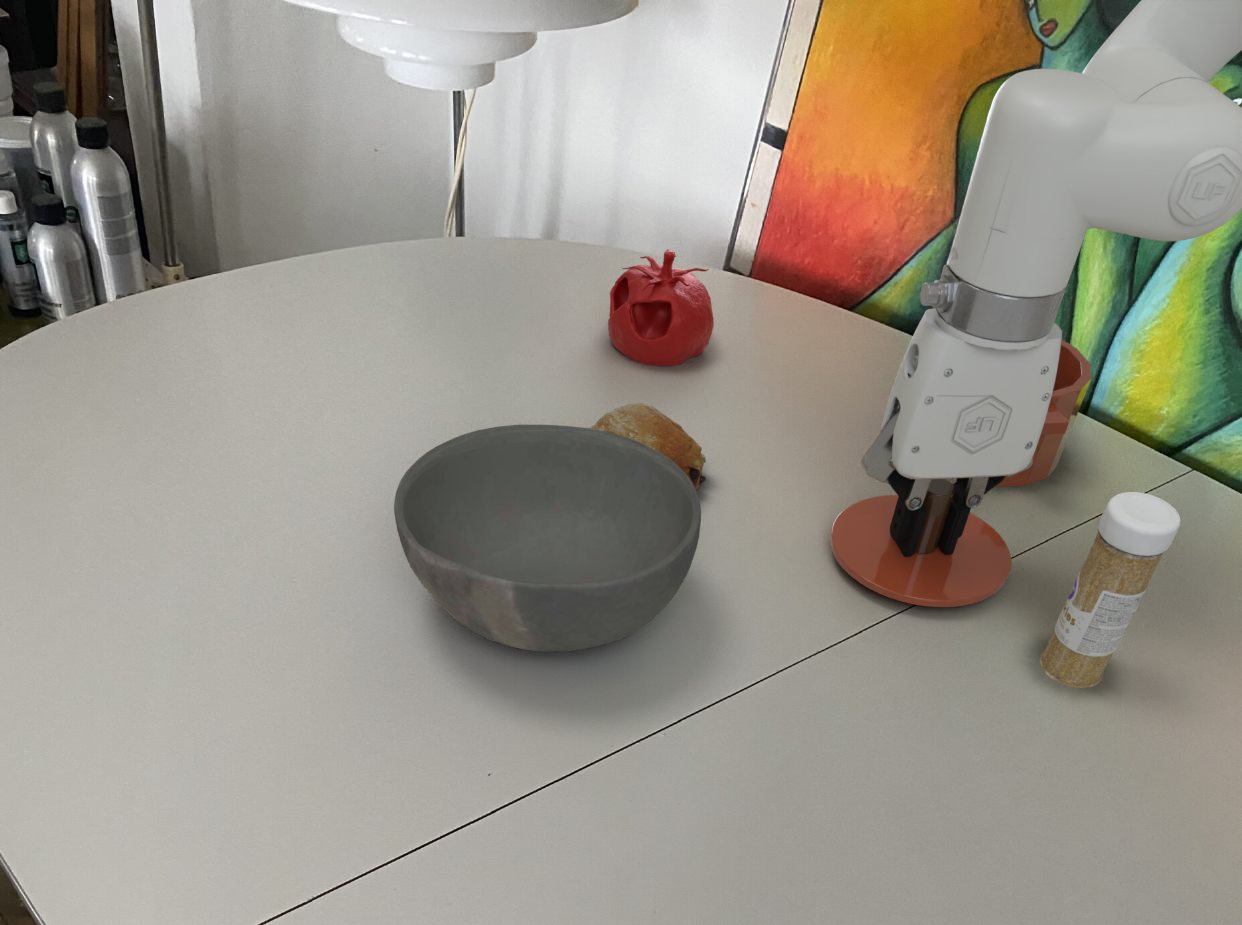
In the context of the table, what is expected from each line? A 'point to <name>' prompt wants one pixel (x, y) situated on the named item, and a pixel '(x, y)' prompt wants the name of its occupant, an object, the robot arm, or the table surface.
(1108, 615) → the sprinkles bottle
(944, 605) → the lid
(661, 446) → the bread roll
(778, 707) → the table surface
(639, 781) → the table surface
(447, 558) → the bowl
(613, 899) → the table surface
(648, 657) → the table surface
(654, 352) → the red tomato
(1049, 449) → the pot
